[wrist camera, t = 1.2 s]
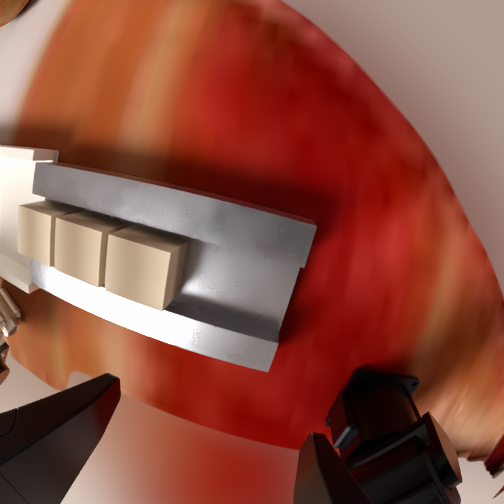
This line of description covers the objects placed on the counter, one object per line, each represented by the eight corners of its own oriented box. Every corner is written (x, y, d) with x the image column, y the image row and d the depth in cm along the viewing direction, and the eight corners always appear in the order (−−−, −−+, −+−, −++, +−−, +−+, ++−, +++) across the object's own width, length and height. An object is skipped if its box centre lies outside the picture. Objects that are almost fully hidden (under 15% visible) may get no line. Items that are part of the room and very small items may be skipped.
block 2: (126, 223, 18) (101, 232, 15) (121, 273, 19) (98, 288, 16) (82, 211, 18) (55, 217, 15) (79, 257, 19) (54, 269, 16)
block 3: (188, 240, 18) (170, 252, 15) (179, 292, 18) (162, 312, 16) (133, 225, 18) (108, 234, 15) (127, 275, 19) (104, 290, 16)
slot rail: (312, 219, 17) (317, 226, 15) (270, 350, 20) (267, 372, 18) (57, 161, 18) (35, 162, 16) (49, 273, 21) (31, 282, 18)
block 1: (78, 209, 18) (51, 216, 15) (74, 256, 19) (49, 267, 16) (44, 200, 18) (18, 205, 15) (42, 242, 19) (17, 251, 16)
